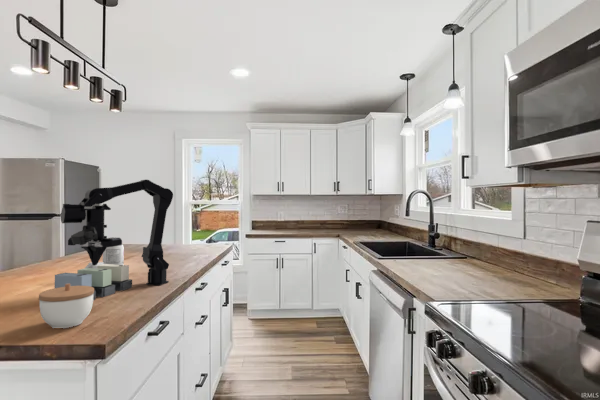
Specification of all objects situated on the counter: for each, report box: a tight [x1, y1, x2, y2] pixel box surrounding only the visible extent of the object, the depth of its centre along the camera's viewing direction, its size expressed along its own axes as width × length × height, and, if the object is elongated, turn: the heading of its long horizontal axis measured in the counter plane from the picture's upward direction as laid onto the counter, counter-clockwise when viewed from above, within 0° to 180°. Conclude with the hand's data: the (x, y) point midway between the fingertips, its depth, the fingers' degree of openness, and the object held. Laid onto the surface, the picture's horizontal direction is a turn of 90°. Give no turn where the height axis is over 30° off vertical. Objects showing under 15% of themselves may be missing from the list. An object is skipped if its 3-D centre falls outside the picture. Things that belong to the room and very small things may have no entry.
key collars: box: [91, 278, 133, 301], centre depth 126 cm, size 13×24×3 cm, turn 167°
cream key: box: [97, 264, 130, 281], centre depth 135 cm, size 11×4×6 cm, turn 77°
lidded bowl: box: [38, 284, 94, 329], centre depth 95 cm, size 13×13×11 cm
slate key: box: [54, 272, 92, 288], centre depth 117 cm, size 11×4×6 cm, turn 77°
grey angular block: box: [84, 261, 104, 269], centre depth 145 cm, size 8×9×10 cm
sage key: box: [77, 267, 112, 287], centre depth 126 cm, size 11×4×6 cm, turn 77°
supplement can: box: [102, 243, 125, 265], centre depth 153 cm, size 8×8×15 cm
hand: (94, 265), depth 126 cm, fingers closed
